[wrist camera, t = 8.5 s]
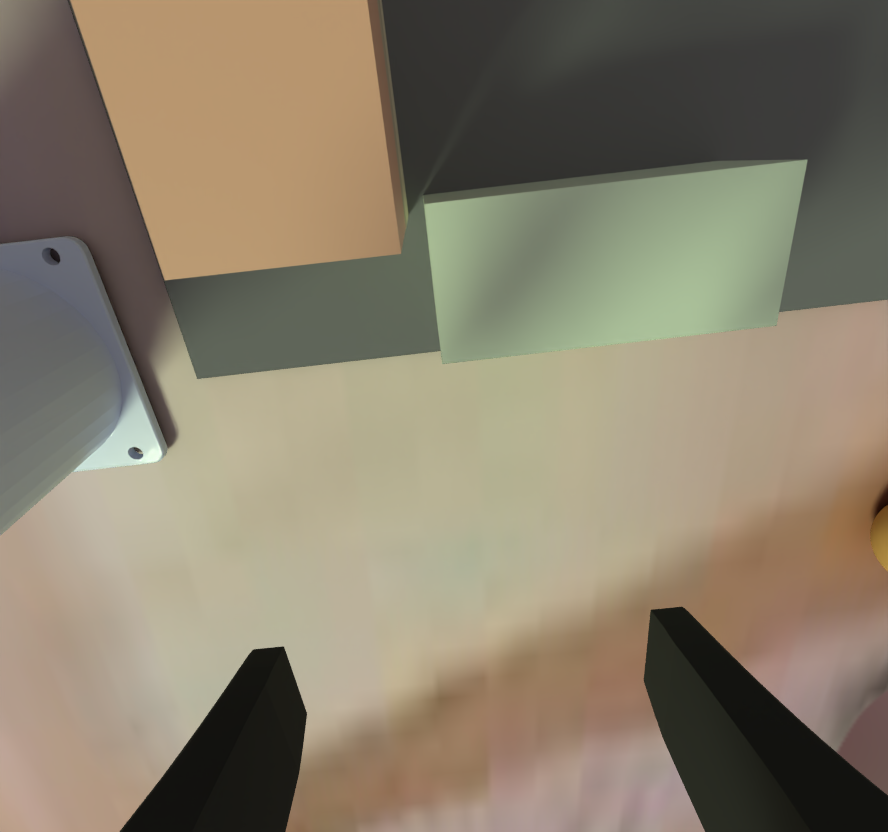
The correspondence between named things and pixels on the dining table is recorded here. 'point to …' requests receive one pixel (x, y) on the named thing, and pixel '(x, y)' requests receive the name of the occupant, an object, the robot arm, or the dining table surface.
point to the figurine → (880, 537)
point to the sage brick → (611, 257)
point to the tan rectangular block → (251, 128)
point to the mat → (583, 150)
